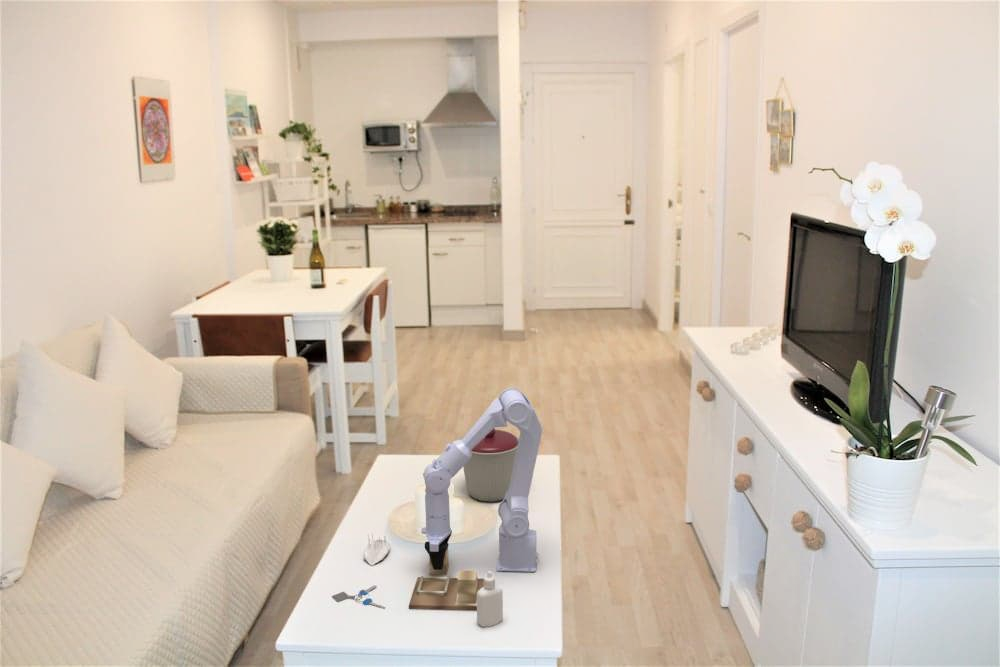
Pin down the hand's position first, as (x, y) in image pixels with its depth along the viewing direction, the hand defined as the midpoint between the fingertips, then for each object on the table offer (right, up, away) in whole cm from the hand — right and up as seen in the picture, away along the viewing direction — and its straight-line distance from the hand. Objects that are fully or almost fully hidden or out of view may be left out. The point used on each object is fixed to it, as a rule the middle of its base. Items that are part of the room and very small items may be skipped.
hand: (439, 564), depth 203 cm
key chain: (-17, -5, -10) cm, 20 cm away
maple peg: (0, -2, 0) cm, 2 cm away
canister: (+12, +9, +42) cm, 45 cm away
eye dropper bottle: (+13, -7, -21) cm, 25 cm away
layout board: (+3, -4, -10) cm, 12 cm away
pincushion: (-16, 0, +9) cm, 19 cm away
